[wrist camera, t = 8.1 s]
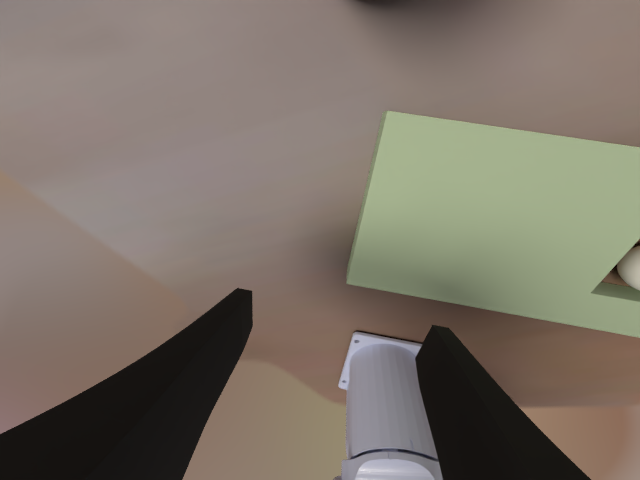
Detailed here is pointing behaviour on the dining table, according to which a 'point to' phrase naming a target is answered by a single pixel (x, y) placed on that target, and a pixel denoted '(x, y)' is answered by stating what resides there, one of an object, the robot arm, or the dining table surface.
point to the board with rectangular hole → (500, 221)
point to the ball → (630, 267)
